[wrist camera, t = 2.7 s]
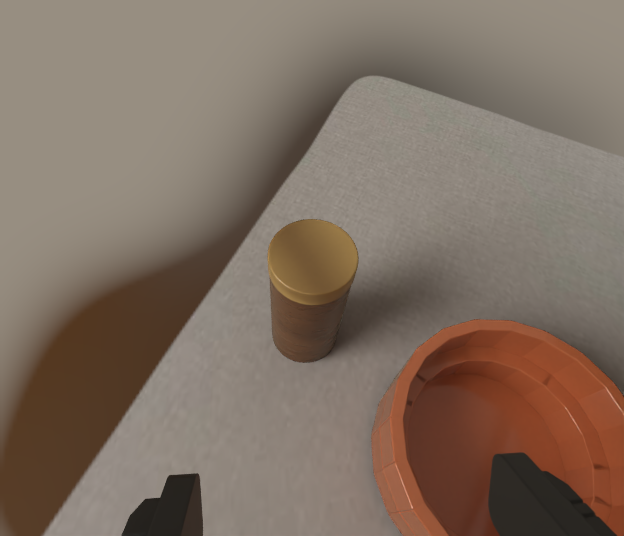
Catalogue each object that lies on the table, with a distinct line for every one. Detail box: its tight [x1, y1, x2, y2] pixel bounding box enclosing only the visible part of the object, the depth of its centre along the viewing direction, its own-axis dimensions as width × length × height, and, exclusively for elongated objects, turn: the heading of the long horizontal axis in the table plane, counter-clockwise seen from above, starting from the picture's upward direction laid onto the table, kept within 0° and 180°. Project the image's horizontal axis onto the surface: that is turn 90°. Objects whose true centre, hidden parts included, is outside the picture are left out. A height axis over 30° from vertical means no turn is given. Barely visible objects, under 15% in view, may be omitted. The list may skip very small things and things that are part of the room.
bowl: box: [371, 319, 624, 536], centre depth 24 cm, size 13×13×6 cm
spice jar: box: [268, 219, 358, 363], centre depth 26 cm, size 5×5×10 cm
